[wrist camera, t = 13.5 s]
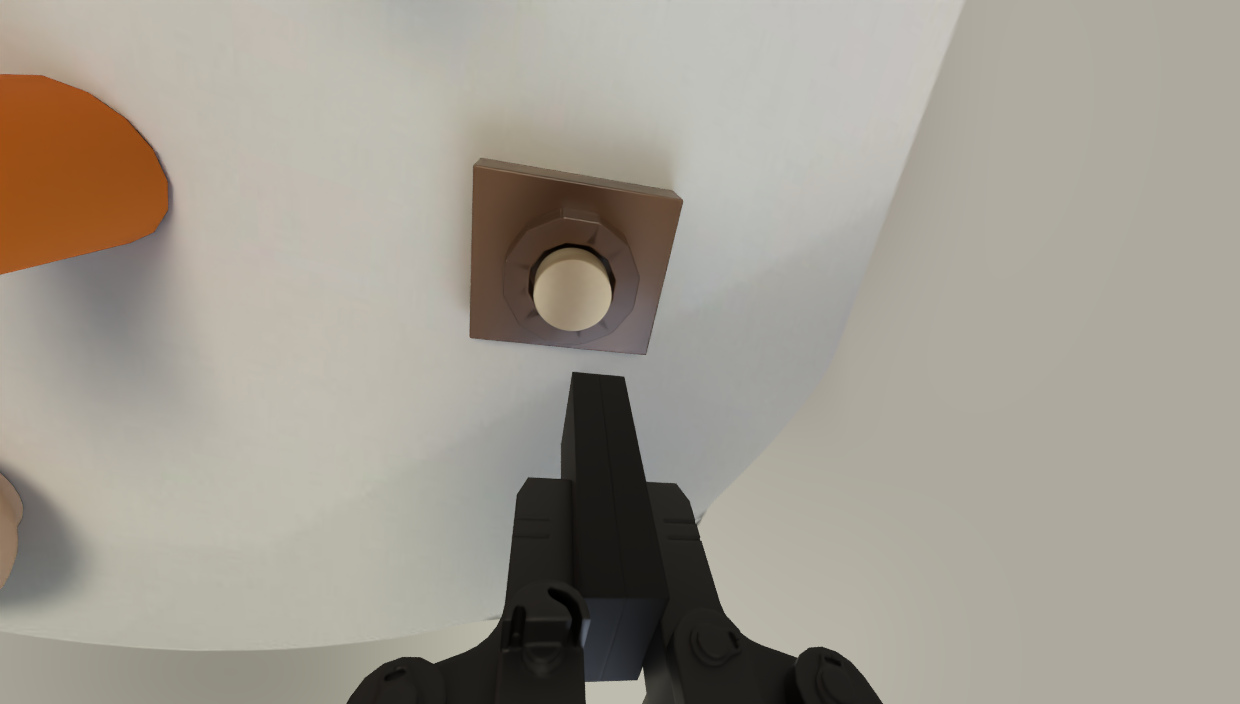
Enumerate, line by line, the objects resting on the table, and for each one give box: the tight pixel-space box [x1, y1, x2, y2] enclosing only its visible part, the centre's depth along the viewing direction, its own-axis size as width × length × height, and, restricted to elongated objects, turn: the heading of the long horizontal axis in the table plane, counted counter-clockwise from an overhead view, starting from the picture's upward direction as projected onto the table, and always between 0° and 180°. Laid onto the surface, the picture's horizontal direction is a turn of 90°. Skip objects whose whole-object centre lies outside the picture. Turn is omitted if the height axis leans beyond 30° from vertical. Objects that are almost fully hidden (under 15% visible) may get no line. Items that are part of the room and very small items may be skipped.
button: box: [533, 248, 612, 331], centre depth 22 cm, size 4×4×2 cm
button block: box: [470, 158, 683, 355], centre depth 24 cm, size 10×9×4 cm
